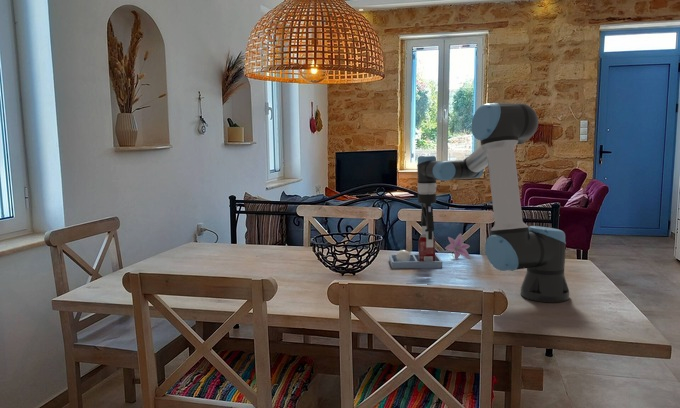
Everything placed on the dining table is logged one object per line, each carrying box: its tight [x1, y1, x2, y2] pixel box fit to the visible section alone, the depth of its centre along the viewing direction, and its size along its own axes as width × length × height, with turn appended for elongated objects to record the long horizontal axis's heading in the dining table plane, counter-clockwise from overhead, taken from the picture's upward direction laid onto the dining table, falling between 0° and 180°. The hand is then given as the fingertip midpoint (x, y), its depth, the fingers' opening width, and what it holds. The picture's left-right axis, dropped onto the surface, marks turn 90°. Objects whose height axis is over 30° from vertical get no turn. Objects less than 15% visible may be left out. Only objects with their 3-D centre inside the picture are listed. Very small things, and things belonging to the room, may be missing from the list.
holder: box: [388, 253, 443, 269], centre depth 220 cm, size 14×20×3 cm, turn 89°
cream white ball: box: [395, 249, 411, 262], centre depth 220 cm, size 6×6×6 cm
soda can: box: [418, 234, 436, 261], centre depth 219 cm, size 7×7×12 cm
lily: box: [444, 233, 471, 261], centre depth 233 cm, size 12×12×10 cm
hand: (427, 244), depth 218 cm, fingers open, 13 cm apart
